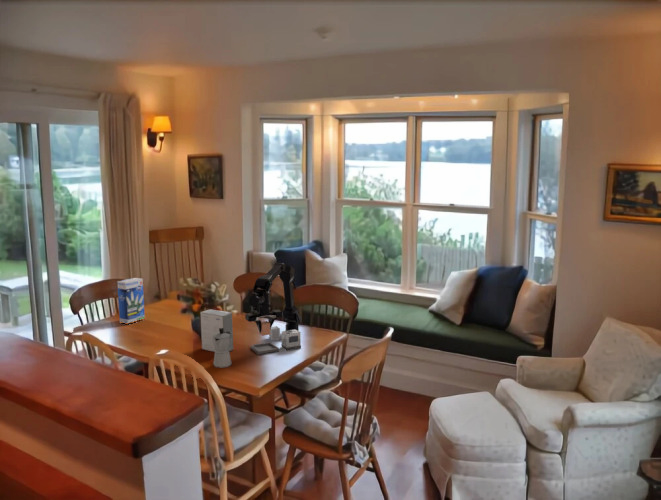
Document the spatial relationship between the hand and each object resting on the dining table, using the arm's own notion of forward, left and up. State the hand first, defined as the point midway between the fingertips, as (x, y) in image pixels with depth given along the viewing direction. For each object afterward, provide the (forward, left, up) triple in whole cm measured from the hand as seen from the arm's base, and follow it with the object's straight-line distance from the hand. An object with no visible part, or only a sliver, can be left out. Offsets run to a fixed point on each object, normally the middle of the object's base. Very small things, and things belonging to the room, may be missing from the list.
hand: (264, 331), depth 290 cm
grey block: (-11, -15, -10) cm, 21 cm away
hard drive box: (+22, -12, -10) cm, 27 cm away
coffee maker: (+25, +9, -10) cm, 28 cm away
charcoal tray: (0, 0, -10) cm, 10 cm away
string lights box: (+53, -84, -10) cm, 99 cm away
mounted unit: (-13, +3, -10) cm, 17 cm away
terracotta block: (0, 0, -1) cm, 1 cm away
